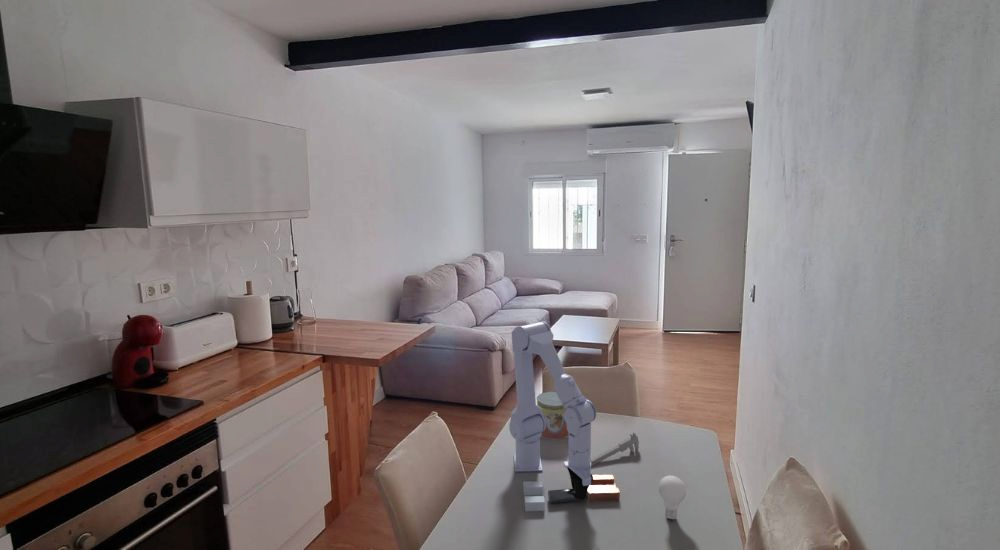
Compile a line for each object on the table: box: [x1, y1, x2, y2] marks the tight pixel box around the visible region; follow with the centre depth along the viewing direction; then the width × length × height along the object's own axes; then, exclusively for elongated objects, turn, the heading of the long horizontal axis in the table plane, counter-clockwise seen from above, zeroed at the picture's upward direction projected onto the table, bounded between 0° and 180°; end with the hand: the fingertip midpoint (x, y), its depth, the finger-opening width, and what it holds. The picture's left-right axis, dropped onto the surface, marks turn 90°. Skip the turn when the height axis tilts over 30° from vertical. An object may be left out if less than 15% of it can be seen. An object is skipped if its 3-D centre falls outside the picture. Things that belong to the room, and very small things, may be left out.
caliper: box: [590, 432, 640, 467], centre depth 146 cm, size 20×1×6 cm, turn 117°
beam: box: [522, 480, 546, 512], centre depth 127 cm, size 9×5×2 cm, turn 0°
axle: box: [547, 488, 589, 504], centre depth 126 cm, size 10×3×3 cm, turn 96°
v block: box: [587, 474, 621, 503], centre depth 130 cm, size 8×8×2 cm
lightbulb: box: [658, 475, 687, 520], centre depth 118 cm, size 6×6×11 cm
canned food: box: [536, 391, 569, 441], centre depth 162 cm, size 11×11×12 cm
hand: (578, 494), depth 127 cm, fingers closed on axle, 3 cm apart
